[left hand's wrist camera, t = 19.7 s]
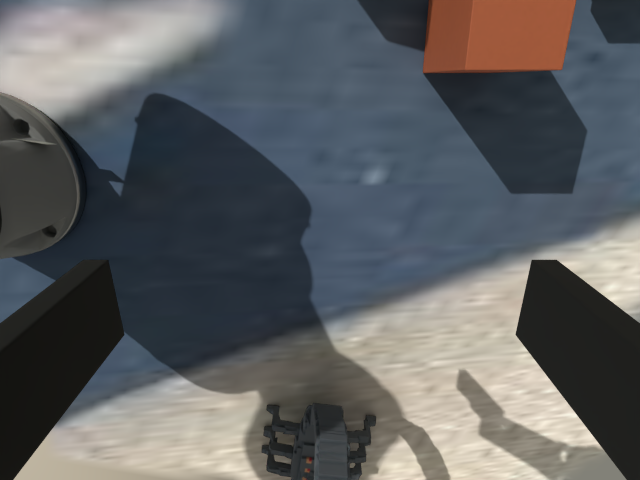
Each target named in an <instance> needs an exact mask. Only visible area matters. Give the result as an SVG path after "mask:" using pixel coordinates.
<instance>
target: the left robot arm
mask: <svg viewBox="0 0 640 480" xmlns="http://www.w3.org/2000/svg"><path fill="white" fill-rule="evenodd" d="M85 200H86V183H85V177H84V173H83V169H82V166H81V163H80V161H79V158H78V156H77V154H76V152H75V150H74V148H73V147H72V145H71V143H70V142H69V141H68V139H67V138H66V136H65V135H64V134H63V133H62V131H61V130H60V129H59V128H58V127H57V126H56V125H55V124H54V123H53V122H52V121H51V120H50V119H49V118H48V117H47V116H46V115H44V114H43V113H42V112H40V111H39V110H38V109H36V108H34V107H33V106H31V105H30V104H28V103H26V102H24V101H22V100H20V99H18V98H16V97H13V96H11V95H8V94H5V93H1V92H0V259H3V258H10V257H17V256H23V255H28V254H32V253H35V252H38V251H41V250H44V249H46V248H48V247H50V246H52V245H53V244H55V243H56V242H58V241H60V240H61V239H63V238H64V237H65V236H67V235H68V234H69V233H70V232H71V231H72V230H73V229H74V227H75V226H76V225H77V223H78V221H79V220H80V218H81V215H82V213H83V209H84V206H85ZM123 336H124V331H123V326H122V321H121V317H120V312H119V308H118V303H117V298H116V294H115V289H114V284H113V280H112V275H111V271H110V266H109V261H108V260H83V261H81V262H80V263H79V264H77V265H76V266H75V267H74V268H72V269H71V270H70V271H68V272H67V273H66V274H64V275H63V276H62V277H60V278H59V279H58V280H56V281H55V282H54V283H53V284H51V285H50V286H49V287H47V288H46V289H45V290H43V291H42V292H41V293H39V294H38V295H37V296H35V297H34V298H33V299H32V300H30V301H29V302H28V303H26V304H25V305H24V306H22V307H21V308H20V309H18V310H17V311H16V312H15V313H13V314H12V315H11V316H9V317H8V318H7V319H5V320H4V321H3V322H1V323H0V480H13V479H14V478H15V477H16V475H17V474H18V473H19V471H20V470H21V469H22V467H23V466H24V465H25V464H26V462H27V461H28V460H29V458H30V457H31V456H32V454H33V453H34V452H35V451H36V449H37V448H38V447H39V445H40V444H41V443H42V441H43V440H44V439H45V438H46V436H47V435H48V434H49V432H50V431H51V430H52V428H53V427H54V426H55V424H56V423H57V422H58V421H59V419H60V418H61V417H62V415H63V414H64V413H65V411H66V410H67V409H68V408H69V406H70V405H71V404H72V402H73V401H74V400H75V398H76V397H77V396H78V394H79V393H80V392H81V391H82V389H83V388H84V387H85V385H86V384H87V383H88V381H89V380H90V379H91V378H92V376H93V375H94V374H95V372H96V371H97V370H98V368H99V367H100V366H101V364H102V363H103V362H104V361H105V359H106V358H107V357H108V355H109V354H110V353H111V351H112V350H113V349H114V348H115V346H116V345H117V344H118V342H119V341H120V340H121V338H122V337H123ZM516 336H517V337H518V338H519V340H520V341H521V342H522V344H523V345H524V346H525V348H526V349H527V350H528V351H529V353H530V354H531V355H532V357H533V358H534V359H535V361H536V362H537V363H538V364H539V366H540V367H541V368H542V370H543V371H544V372H545V374H546V375H547V376H548V378H549V379H550V380H551V381H552V383H553V384H554V385H555V387H556V388H557V389H558V391H559V392H560V393H561V394H562V396H563V397H564V398H565V400H566V401H567V402H568V404H569V405H570V406H571V408H572V409H573V410H574V411H575V413H576V414H577V415H578V417H579V418H580V419H581V421H582V422H583V423H584V424H585V426H586V427H587V428H588V430H589V431H590V432H591V434H592V435H593V436H594V438H595V439H596V440H597V441H598V443H599V444H600V445H601V447H602V448H603V449H604V451H605V452H606V453H607V454H608V456H609V457H610V458H611V460H612V461H613V462H614V464H615V465H616V466H617V468H618V469H619V470H620V471H621V473H622V474H623V475H624V477H625V478H626V479H627V480H640V323H639V322H637V321H636V320H635V319H633V318H632V317H631V316H629V315H628V314H627V313H625V312H624V311H623V310H622V309H620V308H619V307H618V306H616V305H615V304H614V303H612V302H611V301H610V300H608V299H607V298H606V297H605V296H603V295H602V294H601V293H599V292H598V291H597V290H595V289H594V288H593V287H591V286H590V285H589V284H587V283H586V282H585V281H584V280H582V279H581V278H580V277H578V276H577V275H576V274H574V273H573V272H572V271H570V270H569V269H568V268H566V267H565V266H564V265H563V264H561V263H560V262H559V261H557V260H532V261H531V266H530V271H529V275H528V280H527V284H526V289H525V294H524V298H523V303H522V308H521V312H520V317H519V321H518V326H517V331H516Z"/></svg>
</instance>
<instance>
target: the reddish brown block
mask: <svg viewBox="0 0 640 480" xmlns="http://www.w3.org/2000/svg"><path fill="white" fill-rule="evenodd" d="M575 3H576V0H429V6H428V18H427V30H426V42H425V53H424V65H423V73H499V72H523V71H548V70H562V67H563V62H564V58H565V53H566V48H567V43H568V38H569V33H570V28H571V23H572V18H573V13H574V8H575Z"/></svg>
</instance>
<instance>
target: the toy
mask: <svg viewBox="0 0 640 480" xmlns="http://www.w3.org/2000/svg"><path fill="white" fill-rule="evenodd" d="M267 411H269V412H270V413H271V414H273V419H272V427H266V426H265V428H264V436H266V437H269V438H270V443H269V446H265V445H262V453H265V454H267V455H268V459H267V471H268V472H271V473H274V474H279V475H280V476H288V477H291V480H359V477H360V476H361V475H362V471H361V463H364V462H366V451H365V446H367V445H370V444H371V434H370V427H371V426H375V423H376V417H375V416H366V420H364V429H363V431H360V430H356V431H347V428H346V424H345V422H344V419H343V409H342V406H336V405H327V404H318V403H313V405H309V406H308V407H307V409H306V411H305V415H304V417H303V418H302V421H301V423H293V422H289V421H284V420H280V417H279V406H273V405H267ZM275 431H277V432H283V434H293V435H295V441H294V446H293V447H292V446H291V445H286V444H280V443H277V438H275ZM349 442H350V443H359V448H358V450H357V451H350V443H349ZM274 455H280V456H285V457H287V458H290V459H292V461H291V464H287V463H282V462H276V461H275V460H274ZM350 463H355V467H354V468H350Z"/></svg>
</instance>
